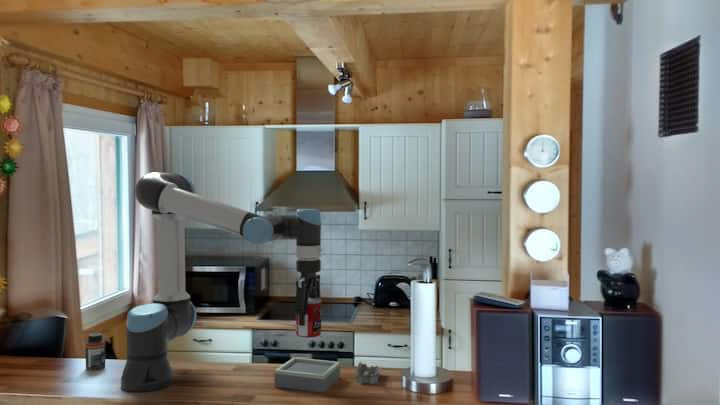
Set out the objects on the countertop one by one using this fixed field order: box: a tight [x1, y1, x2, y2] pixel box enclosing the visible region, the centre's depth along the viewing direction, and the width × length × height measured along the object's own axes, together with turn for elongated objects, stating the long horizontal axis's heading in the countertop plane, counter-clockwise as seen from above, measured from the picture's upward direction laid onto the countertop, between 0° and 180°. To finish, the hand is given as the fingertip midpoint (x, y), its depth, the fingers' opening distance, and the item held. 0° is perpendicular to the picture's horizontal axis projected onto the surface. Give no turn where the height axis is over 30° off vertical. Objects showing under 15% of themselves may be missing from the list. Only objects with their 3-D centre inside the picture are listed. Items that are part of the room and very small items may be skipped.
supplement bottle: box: [85, 332, 106, 371], centre depth 188 cm, size 6×6×11 cm
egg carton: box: [354, 361, 382, 385], centre depth 180 cm, size 11×8×4 cm
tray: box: [274, 356, 341, 394], centre depth 176 cm, size 16×14×5 cm
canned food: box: [295, 297, 322, 338], centre depth 176 cm, size 8×8×11 cm
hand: (308, 332), depth 176 cm, fingers closed on canned food, 8 cm apart
